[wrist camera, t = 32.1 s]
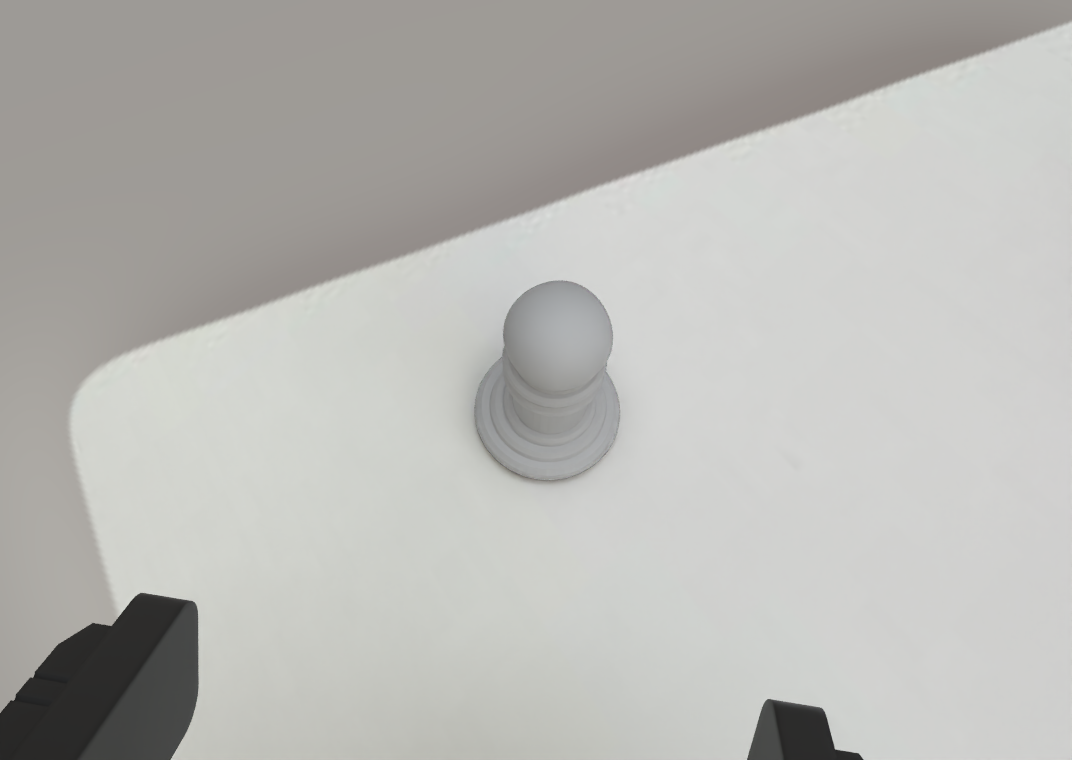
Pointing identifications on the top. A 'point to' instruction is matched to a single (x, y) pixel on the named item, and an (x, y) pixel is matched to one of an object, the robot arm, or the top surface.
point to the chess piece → (551, 385)
